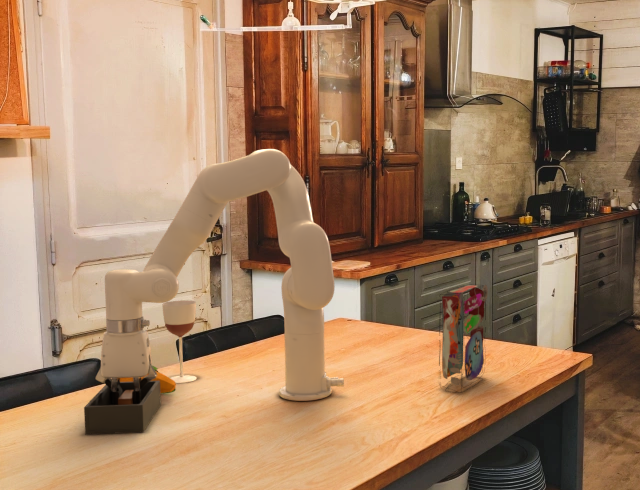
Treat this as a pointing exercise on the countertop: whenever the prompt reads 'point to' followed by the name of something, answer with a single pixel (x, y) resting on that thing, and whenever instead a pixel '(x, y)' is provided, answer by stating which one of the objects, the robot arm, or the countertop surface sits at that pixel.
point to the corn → (165, 382)
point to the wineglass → (180, 327)
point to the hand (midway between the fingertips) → (127, 406)
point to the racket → (126, 398)
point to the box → (454, 333)
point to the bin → (121, 410)
